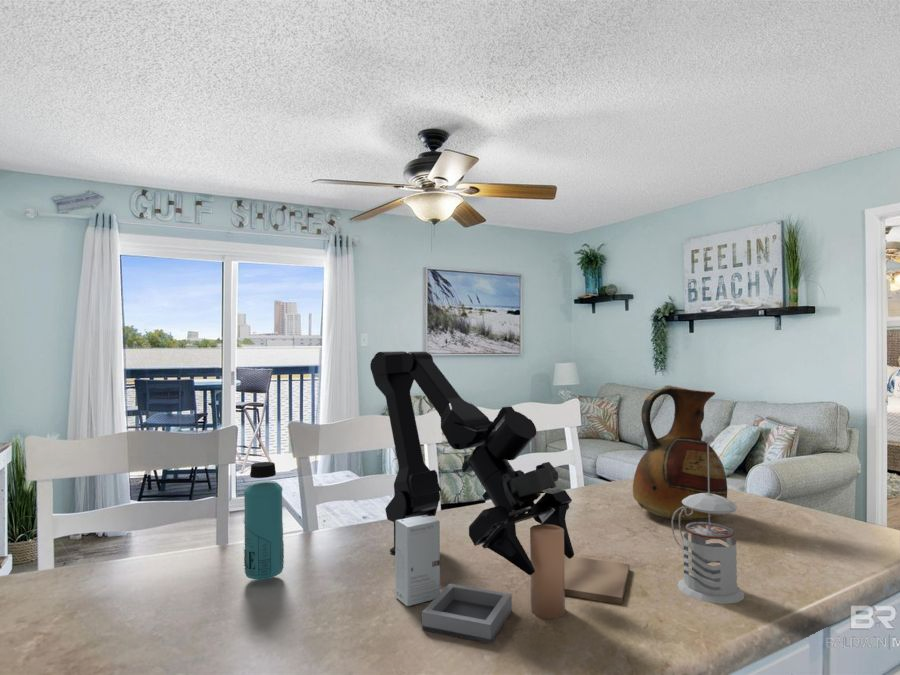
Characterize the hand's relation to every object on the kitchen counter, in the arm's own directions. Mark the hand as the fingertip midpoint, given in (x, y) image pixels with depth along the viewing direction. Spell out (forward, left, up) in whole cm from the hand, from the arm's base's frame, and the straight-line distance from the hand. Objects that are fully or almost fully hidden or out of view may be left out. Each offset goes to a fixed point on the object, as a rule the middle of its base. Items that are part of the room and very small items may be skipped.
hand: (553, 565), depth 82 cm
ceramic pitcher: (+17, +57, -7) cm, 60 cm away
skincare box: (-21, -3, -7) cm, 22 cm away
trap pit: (-11, -7, -7) cm, 15 cm away
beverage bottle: (-48, -7, -7) cm, 49 cm away
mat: (+2, +13, -7) cm, 15 cm away
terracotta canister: (-1, 0, -7) cm, 7 cm away
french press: (+21, +17, -7) cm, 28 cm away
